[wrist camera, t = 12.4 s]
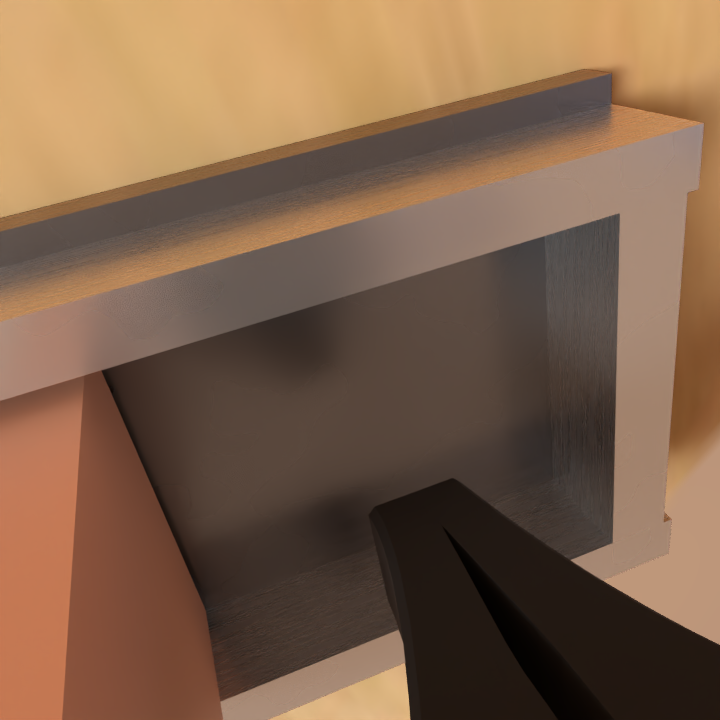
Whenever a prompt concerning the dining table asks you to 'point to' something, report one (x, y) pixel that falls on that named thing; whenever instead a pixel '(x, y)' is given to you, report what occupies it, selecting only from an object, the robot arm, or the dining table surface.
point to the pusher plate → (91, 571)
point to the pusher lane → (375, 352)
